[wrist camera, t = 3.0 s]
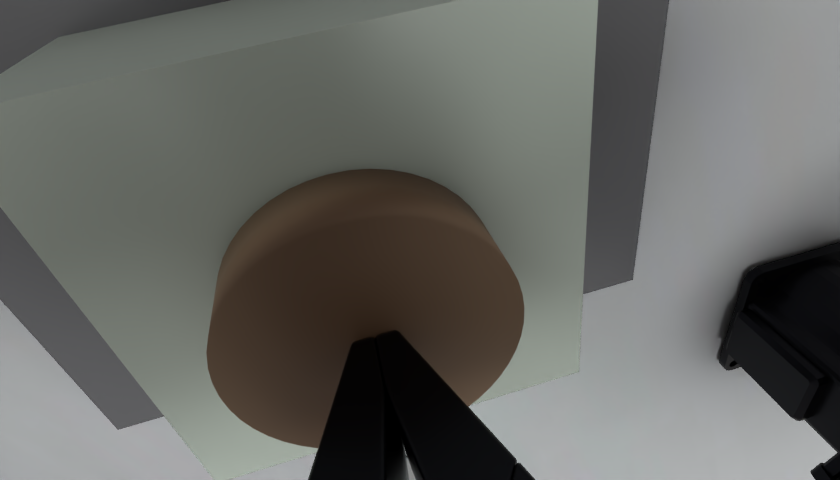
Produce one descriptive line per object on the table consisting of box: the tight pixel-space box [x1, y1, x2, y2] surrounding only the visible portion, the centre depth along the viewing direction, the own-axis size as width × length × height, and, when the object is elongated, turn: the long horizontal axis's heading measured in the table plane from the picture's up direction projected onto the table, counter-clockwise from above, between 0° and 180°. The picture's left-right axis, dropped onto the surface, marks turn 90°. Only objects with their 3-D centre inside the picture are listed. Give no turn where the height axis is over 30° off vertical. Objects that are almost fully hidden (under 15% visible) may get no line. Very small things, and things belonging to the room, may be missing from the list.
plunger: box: [206, 169, 525, 448], centre depth 11 cm, size 6×6×6 cm
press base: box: [0, 0, 669, 480], centre depth 13 cm, size 20×15×6 cm
